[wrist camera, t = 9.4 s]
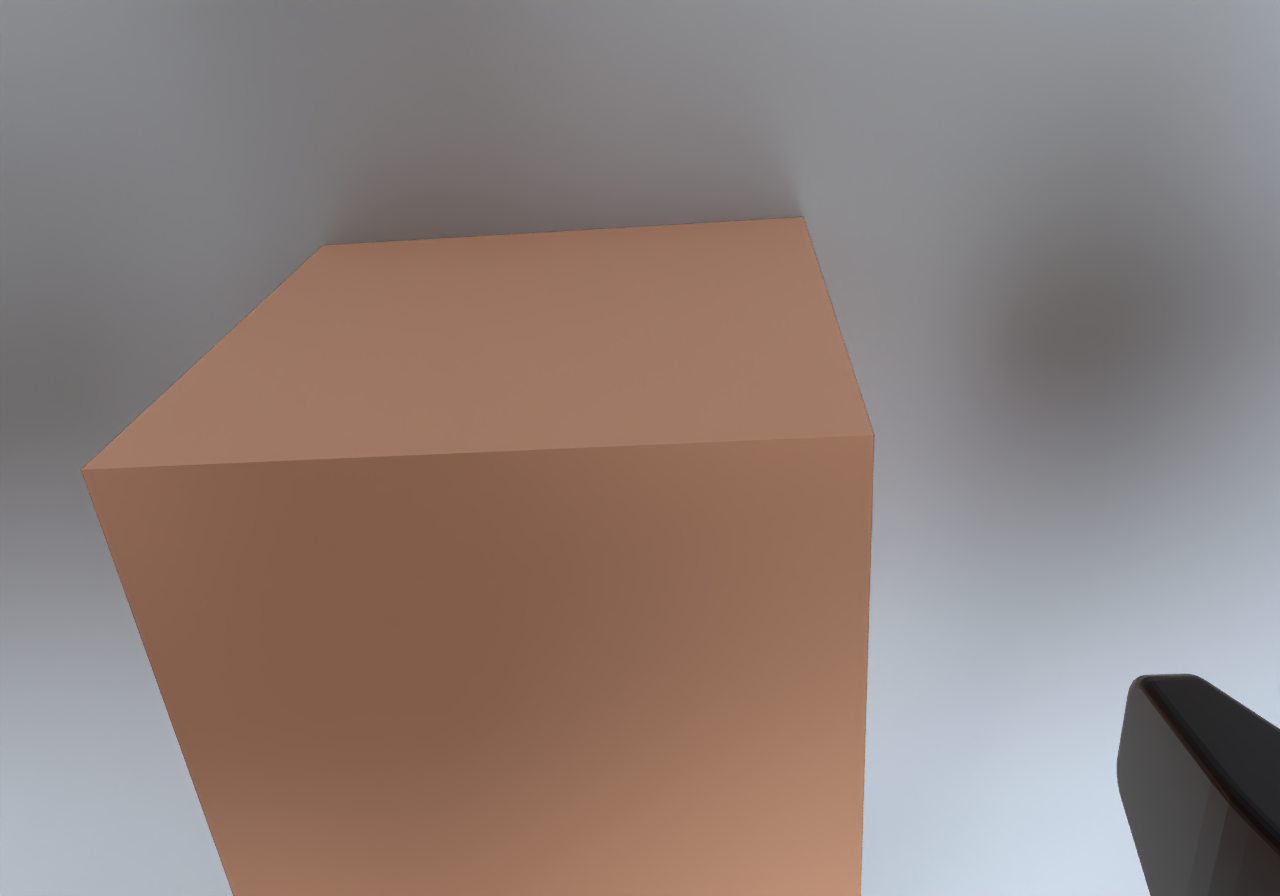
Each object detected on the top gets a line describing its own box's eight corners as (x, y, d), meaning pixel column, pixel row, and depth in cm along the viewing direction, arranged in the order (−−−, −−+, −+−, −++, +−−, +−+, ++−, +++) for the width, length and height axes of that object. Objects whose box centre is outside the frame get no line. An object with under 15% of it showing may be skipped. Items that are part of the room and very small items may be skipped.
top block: (803, 615, 13) (858, 981, 9) (406, 626, 14) (265, 984, 9) (801, 214, 11) (874, 434, 6) (324, 243, 11) (80, 468, 7)
